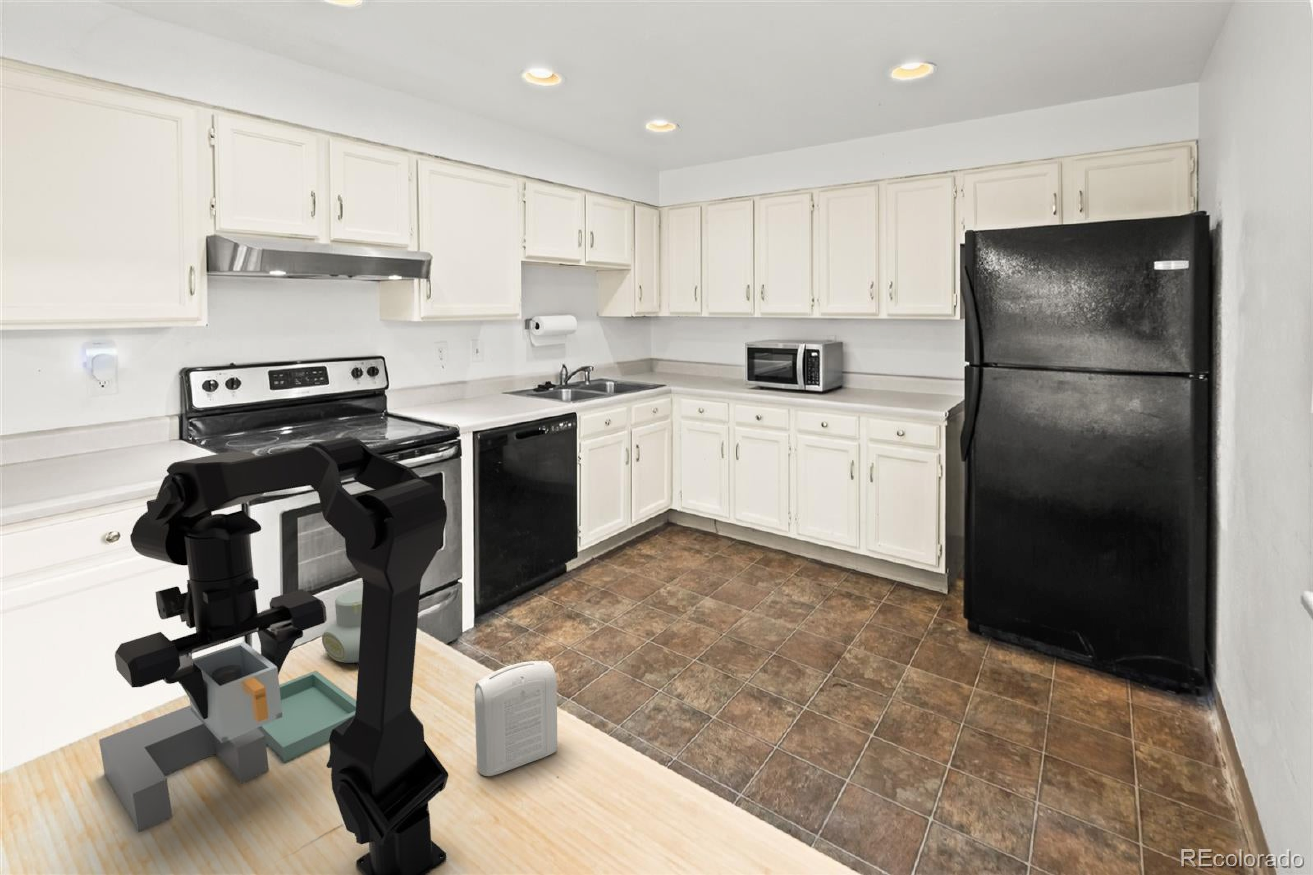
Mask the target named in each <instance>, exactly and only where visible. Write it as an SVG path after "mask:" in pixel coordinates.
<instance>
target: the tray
mask: <svg viewBox="0 0 1313 875" xmlns="http://www.w3.org/2000/svg"><path fill="white" fill-rule="evenodd" d="M279 688H280V698H281V708H282V717H281V718H279V719H276V720H274V721H272V722H269V723H267V724H265V725H263V726H260V727H258V729H259V730H260V731H261V732H262V733H263V734H264V735H265V740H266V746H267V747H269V749H271V751H272V752H273V753H275V755H276V756H278V757H279V759H281V761H283V763H284V764H286V763H288V762H289V761H292V760H294V759H296V758H298V757H300V756H302V755H304V754H307V753H309V752H311V751H313V750H315V749H317V748H319V747H321V746H323V745H325V744H327V743H329V738H330V735H331V731H332V730H333V729H334V728H336V727H337V726H339V725H340V724H342V723H343V722H345V721H346V720H348V719H349V718H351V717H352V716H354V715H355V712H356V698H354V697H352V696H351V695H349V693H347V692H346V691H344V690H343V689H341V687H339V686H338V685H336V684H335V683H333V682H332V681H331V680H329V679H328V678H327V677H326V676H324V675H323V674H322V673H320V672H319V671H318V670H313V671H311V672H309V673H306V674H304V675H301V676H298V677H295V678H293V679H291V680H287V681H285V682H282V683H281V684H280V683H279Z"/></svg>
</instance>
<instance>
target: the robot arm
mask: <svg viewBox="0 0 1313 875" xmlns="http://www.w3.org/2000/svg"><path fill="white" fill-rule="evenodd" d="M166 472H167V474H168V475H166V476H164V478H163V479H162V481H161V485H160V488H159V490H158V492H157V495H156V497H155V499H150V500H147V501H146V509H147V511H146V512H144V513H143V514H142V515H141V516H140V517H139V518H138V519H137V520H136V521H135V524H134V525H133V527H132V530H131V531H132V532H131V533H130V535H129V536H130V543H131V545H132V548H133V549H134V550H135V552H137V553H138V554H139V555H141V556H144V557H145V558H149V559H154V560H158V561H161V562H166V563H169V564H172V565H173V564H174V565H178V566H187V569H188V570H187V571H188V579H186V583H187V584H186V588H187V591H186V592H181V590H180V587H179V586H172V587H169V588H164V589H160V590H158V591H155V600H156V601H155V603H156V608H157V613H158V616H159V618H160V619H161V620H168V619H171V618H174V617H178V616H179V618H180V622H181V623H185V626H187V627H188V628H189V629H193V628H195V633H191V634H188V635H184V636H181V637H178V638H175V639H169V638H168V637H167V636H166V635H165V634H164V633H163V632H161V631H158V632H156V633H151V634H149V635H148V634H147V635H146V636H142V637H139V638H135V639H132V640H129V641H125V642H122V643H120V644H119V646H118V647H117V649H116V651H115V653H114V659H115V667H116V671H118V673H119V674H120V675H121V677H123V679H124V680H125V681H126V682H127V683H128V684H129V686H130V687H131V688H142V687H145V686H149V685H151V684H153V683H154V684H155V683H158V682H159V681H163V682H164V683H166V684H168V685H170V684H171V685H172V684H176V683H179V685H180V686H181V687H182V689H183V690H184V692H185V694H186V695H187V697H188V698H189V701H190V700H191V702H192V703H193V705H194V707H195V708H196V710H197V711H198V713H199V715H200V716H201V717H202V718H203V719H207V718H208V704H207V698H206V693H205V687H204V682H203V677H202V671H201V669H200V668H199V667H198V666H197V665H196V664H195V663H194V662H193V660H192V659H193V654H194V653H198V652H201V651H204V650H207V649H210V648H213V647H216V646H219V645H221V644H225V643H228V642H230V641H234V640H237V639H240V638H243V637H246V636H249V635H252V634H255V633H256V634H257V635H258V639H259V644H260V654H261V655H262V656H263V657H265V658H266V659H267V660H269V661H270V662H271V663H273V664H274V665H275V666H276V667H277V669H278V676H279V674H280V672H281V671H282V667H283V665H284V662H285V661H286V660H287V657H288V656H289V653H290V651H291V650H292V647H293V646H294V644H295V643H296V641H297V640H300V639H301V638H304V637H303V636H304V631H305V630H306V631H307V630H309V629H312V628H314V627H317V626H321V625H323V624H325V623H326V622H327V620H328V618H327V608H326V605H325V603H324V601H323V600H322V599H320V598H318V597H316V596H314V595H313V594H311V593H310V592H307V591H306V590H304V589H300V588H299V589H296V590H294V591H291V592H287V593H284V594H281V595H277V596H274V597H272V598H271V599H270V601H269V608H267V609H263V610H262V611H260V612H258V604H257V595H256V594H257V593H256V590H259V589H260V587H259V579H257V578H255V576H254V566H253V558H252V555H253V554H252V548H251V538H250V535H252V534H255V533H259V532H261V531H262V526H261V525H260V523H259V522H258V521H257V520H256V519H254V518H251V517H250V516H249V515H248V513H246V511H245V510H243V509H242V510H238V511H234V512H231V513H214V514H213V512H217V511H220V510H225V509H227V508H232V507H235V506H238V505H241V504H246V503H248V502H250V501H253V500H256V499H257V498H259V497H262V496H264V494H267V493H272V492H273V493H274V492H279V491H284V490H292V489H297V488H303V487H309V486H310V487H311V488H312V489H313V490H314V491H316V492H317V494H318V499H319V502H320V503H319V504H320V507H321V512H322V517H323V519H324V520H325V521H326V522H327V523H328V524H329V525H330V526H331V527H332V528H333V529H335V531H336V532H337V533H338V534H339V535H340V536H342V538H344V543H345V545H344V546H345V554H346V558H347V560H348V561H349V562H350V564H351V565H352V567H353V568H354V569H355V571H356V572H357V573H358V575H359V577H360V578H361V581H362V589H363V594H362V611H361V628H360V645H359V662H357V663H358V664H357V665H358V666H357V678H356V679H357V682H356V683H357V684H356V697H355V700H356V712H355V715H354V716H352V717H351V718H349V719H348V720H346V721H345V722H343V723H342V724H340V725H339V726H337V727H336V728H334V729H333V730H332V731H331V735H330V738H329V742H328V743H329V744H328V745H329V759H328V761H327V762H326V767H327V769H331V770H330V771H331V772H330V773H331V774H330V780H331V788H332V789H331V790H332V793H333V795H334V797H335V800H336V803H337V807H338V810H339V812H340V815H341V818H342V821H343V824H344V827H345V829H346V831H347V832H348V833H352V834H354V836H355V841H356V843H357V844H358V845H366V844H368V849H369V851H367V853H365V854H363V855H361V856H360V857H358V858H357V859H356V861H355V866H356V868H357V869H358V870H359V872H360V873H361V874H362V875H428V873H430V872H431V871H433V870H434V869H435V868H437V867H439V866H440V865H441V864H443V863H444V862H446V861H447V853H446V851H444V849H442V848H441V847H440V846H438V845H437V843H435V842H434V841H433V840H432V832H431V830H432V829H431V816H430V815H431V814H430V811H429V802H430V801H431V800H432V799H434V797H436V796H437V795H438V794H439V793H440V792H442V791H444V789H445V788H446V786H447V783H448V778H449V772H448V771H447V769H446V768H445V767H444V765H443V763H441V761H440V760H439V758H438V757H437V756H436V755H435V753H434V751H432V749H431V748H430V747H429V744H428V743H427V742H426V741H425V732H424V731H425V730H424V729H425V727H424V724H423V723H422V721H421V720H420V719H419V718H418V717H417V716H416V714H415V713H414V711H413V710H412V707H411V704H412V693H413V682H414V681H413V680H414V668H415V659H416V658H415V656H416V644H417V631H418V621H419V611H420V610H419V609H420V606H419V605H420V596H421V585H422V583H421V582H422V579H423V576H424V574H426V572H427V570H428V568H429V566H430V564H431V563H432V561H433V559H434V557H435V556H436V554H437V553H438V551H439V549H440V547H441V543H442V539H443V535H444V532H445V527H446V524H447V518H448V511H447V510H448V509H447V505H446V500H445V499H444V498H442V497H441V495H440V494H439V492H438V490H437V489H436V488H435V487H434V486H433V485H432V484H431V483H430V482H428V481H426V480H424V479H423V478H422V477H420V476H419V475H418V474H417V473H416V472H415V471H414V470H412V469H411V467H409V466H407V465H405V464H402V463H400V462H398V461H397V460H396V461H395V460H393V459H390V457H389V458H388V457H386V456H383V455H381V454H380V453H377V452H375V451H373V450H372V448H370V447H369V446H368V445H367V444H366V443H364V442H363V441H362V440H360V439H359V438H357V437H352V436H345V435H343V436H341V437H340V436H339V437H335V438H330V439H325V440H320V441H315V442H311V443H308V445H306V446H303V447H298V448H294V449H288V450H284V451H278V452H274V453H268V454H263V455H258V454H256V453H254V452H251V451H235V450H234V451H233V450H231V451H227V452H222V453H217V454H212V455H211V454H210V455H207V456H201V457H196V458H190V459H185V460H180V461H179V460H178V461H176V462H175V461H174V462H172V463H171V464H169V466H167V469H166ZM351 479H354V480H355V481H356V482H358V483H359V484H361V485H363V486H364V487H367V488H370V489H373V490H374V491H370V492H368V493H365V494H364V493H363V494H361V495H358V496H357V497H354V495H352V494H351V493H350V492H349V491H348V490H346V489H345V488H344V487H343V484H342V482H344V481H347V480H351Z"/></svg>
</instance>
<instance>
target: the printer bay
mask: <svg viewBox="0 0 1313 875" xmlns="http://www.w3.org/2000/svg"><path fill="white" fill-rule="evenodd" d="M98 743H99V748H100V755H101V760H102V766H103V772H104V776H105V778H106V779H107V781H108V783H109V784H110V786H111V788H112V789H113V791H114V793H115V795H116V797H117V798H118V800H119V802H120V804H121V805H122V806H123V808H124V810H125V811H126V813H127V815H128V817H129V818H130V820H131V822H132V823H133V825H134V828H136V830H137V832H138V833H140V832H143V831H145V830H147V829H149V828H151V827H153V826H155V825H157V824H159V823H161V822H163V821H165V820H167V819H170V818H171V817H173V813H172V812H173V811H172V805H171V800H170V799H171V798H170V792H169V785H168V784H169V783H168V778H167V777H166V776H168V775H171V774H172V773H175V772H177V771H179V770H181V769H184V768H186V767H188V766H191V765H194V764H196V763H198V762H200V761H202V760H205V759H207V758H210V757H212V756H215V755H216V756H217V757H218V759H220V760H221V762H222V763H223V764H224V765H225V767H226V768H227V769H228V770H229V771H230V773H232V775H234V777H235V778H236V779H237V780H238V781H239V783H240V784H243V783H245V782H247V781H250V780H251V779H254V778H256V777H258V776H261V775H262V774H264V773H267V772H268V771H269V770H270V769H269V761H268V750H267V744H266V740H265V735H264V734H263V733H262V732H261V731H260V730H259V729H258V728H256V729H253V730H251V731H249V732H246V733H244V734H242V735H240V736H237V737H235V738H233V739H230V740H228V741H226V742H223V743H221V742H220V741H219V740H218V739H217V738H216V737H215V736H214V734H213V733H212V732H211V731H210V730H209V729H208V728H207V727H206V726H205V725H204V724H203V723H202V722H201V721H200V720H199V719H198V718H197V717H196V716H195V715H194V713H193V712H192V711H191V707H190V705H187V706H185V707H182V708H179V709H176V710H174V711H171V712H169V713H166V714H163V715H161V716H158V717H155V718H153V719H150V720H147V721H144V722H142V723H140V724H137V725H134V726H132V727H129V728H127V729H124V730H121V731H119V732H116V733H113V734H110V735H108V736H105V737H101V738H99V739H98Z"/></svg>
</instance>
